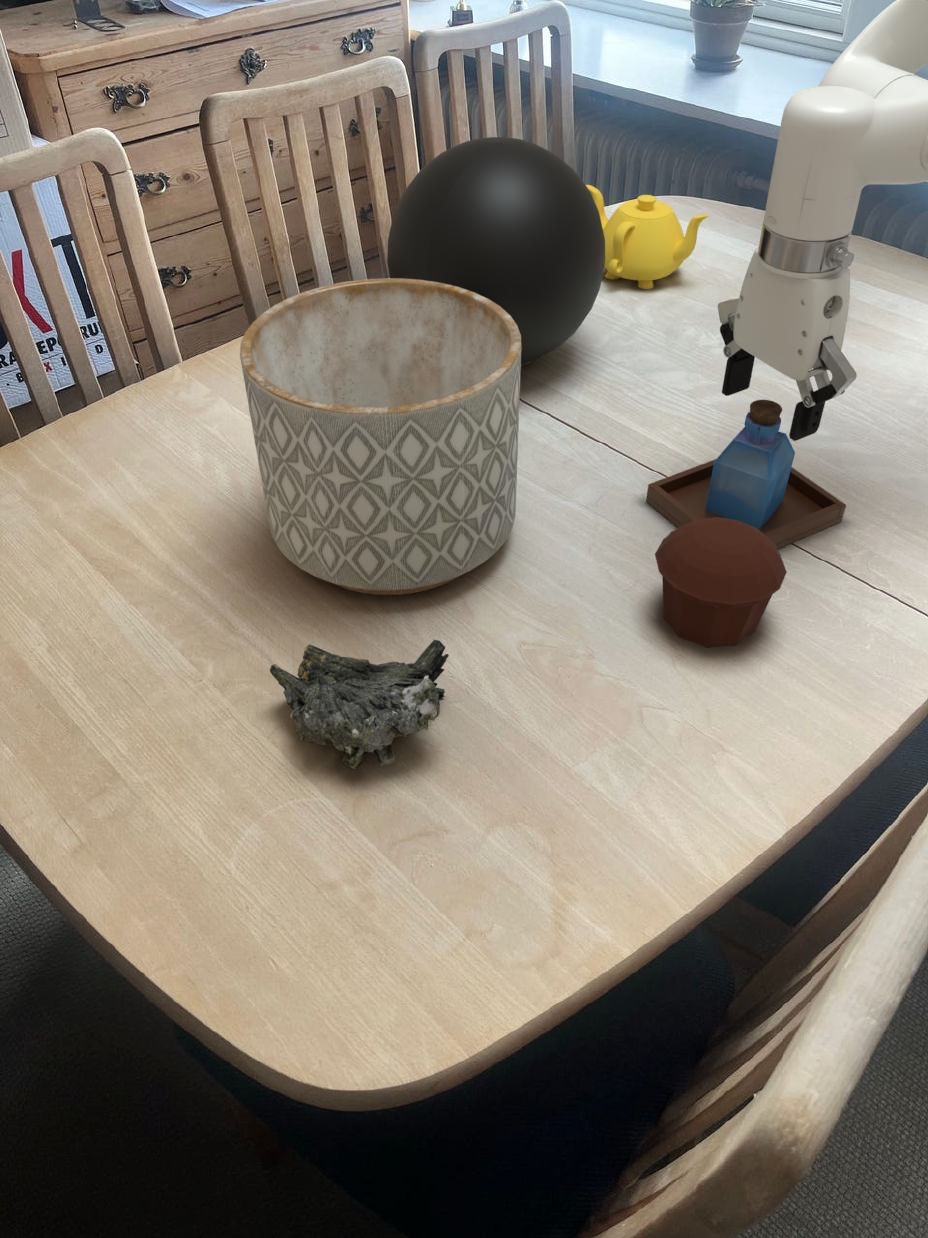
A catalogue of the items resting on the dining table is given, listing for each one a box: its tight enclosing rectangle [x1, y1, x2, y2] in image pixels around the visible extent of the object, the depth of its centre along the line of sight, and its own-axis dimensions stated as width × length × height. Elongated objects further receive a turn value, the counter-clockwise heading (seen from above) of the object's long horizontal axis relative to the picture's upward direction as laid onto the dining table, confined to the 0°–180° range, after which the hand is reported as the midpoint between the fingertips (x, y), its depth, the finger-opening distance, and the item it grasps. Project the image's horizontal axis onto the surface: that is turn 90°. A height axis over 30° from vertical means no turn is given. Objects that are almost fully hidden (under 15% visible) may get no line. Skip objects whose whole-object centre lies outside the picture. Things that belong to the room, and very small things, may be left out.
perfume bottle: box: [705, 399, 796, 530], centre depth 105 cm, size 6×6×12 cm
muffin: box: [654, 517, 788, 648], centre depth 94 cm, size 12×11×10 cm
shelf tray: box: [645, 458, 847, 550], centre depth 108 cm, size 16×14×2 cm
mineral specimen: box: [269, 639, 450, 770], centre depth 85 cm, size 15×13×10 cm
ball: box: [386, 136, 605, 367], centre depth 125 cm, size 27×27×27 cm
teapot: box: [585, 184, 710, 290], centre depth 148 cm, size 20×15×12 cm
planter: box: [239, 277, 522, 596], centre depth 99 cm, size 26×26×22 cm
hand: (767, 412), depth 101 cm, fingers open, 9 cm apart
